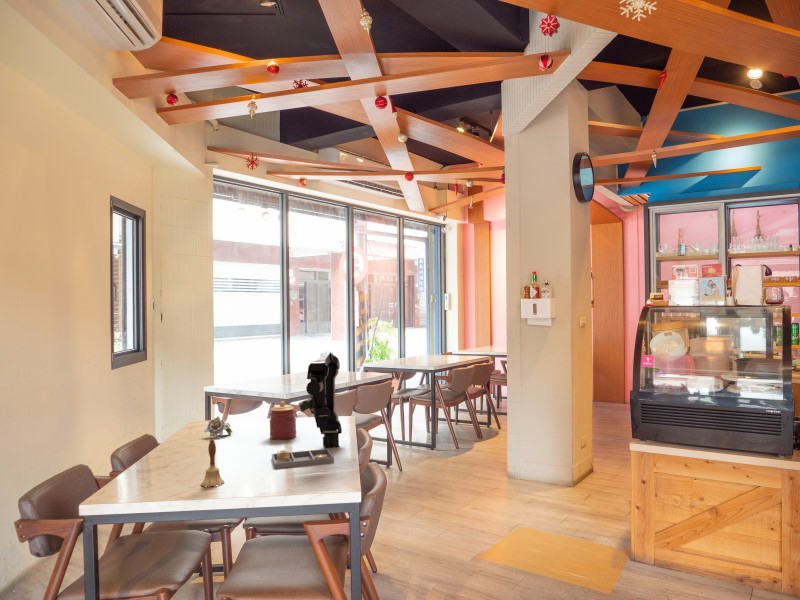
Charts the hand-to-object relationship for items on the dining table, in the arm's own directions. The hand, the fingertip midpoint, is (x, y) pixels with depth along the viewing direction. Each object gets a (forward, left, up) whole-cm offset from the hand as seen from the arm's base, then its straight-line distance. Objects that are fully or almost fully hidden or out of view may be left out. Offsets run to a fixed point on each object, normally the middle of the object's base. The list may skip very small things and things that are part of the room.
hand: (320, 429), depth 241 cm
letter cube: (+15, 0, -12) cm, 19 cm away
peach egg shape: (0, 0, -12) cm, 12 cm away
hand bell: (+42, +18, -13) cm, 48 cm away
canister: (+11, -53, -13) cm, 55 cm away
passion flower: (+42, -70, -13) cm, 82 cm away
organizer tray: (+8, 0, -12) cm, 15 cm away
